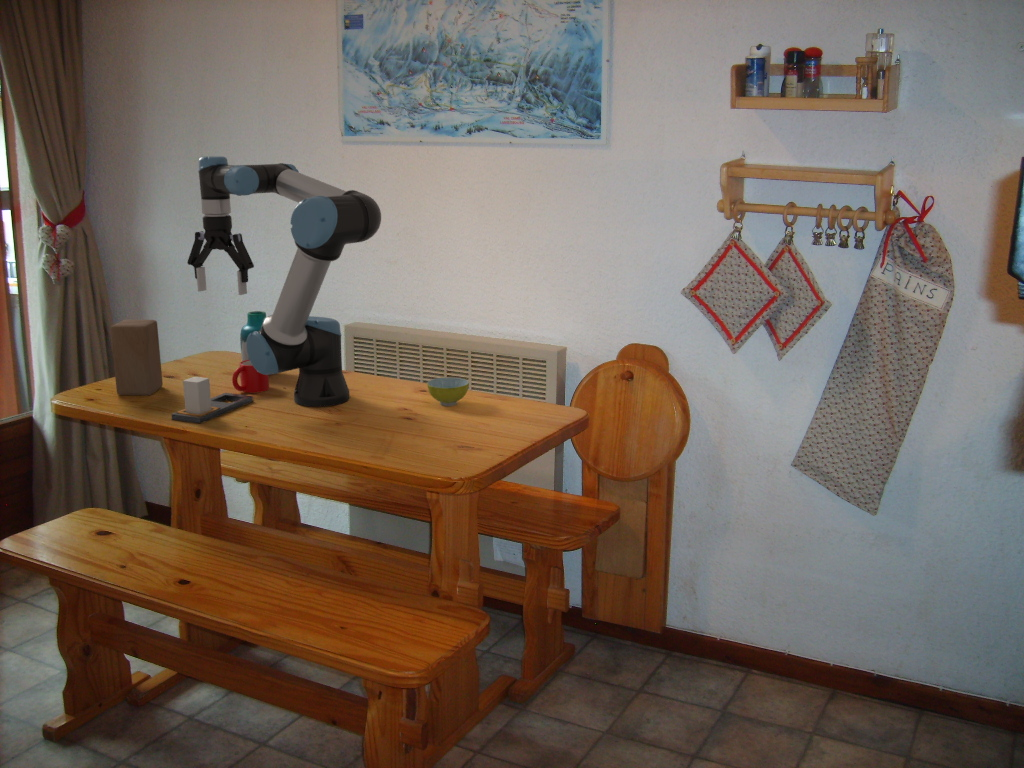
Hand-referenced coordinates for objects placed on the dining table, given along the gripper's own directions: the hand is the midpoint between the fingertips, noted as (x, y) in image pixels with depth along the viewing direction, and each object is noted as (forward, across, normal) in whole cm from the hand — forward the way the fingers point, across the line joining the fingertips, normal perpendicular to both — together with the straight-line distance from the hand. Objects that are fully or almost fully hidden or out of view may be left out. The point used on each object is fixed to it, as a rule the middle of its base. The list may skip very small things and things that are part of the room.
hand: (222, 292), depth 269 cm
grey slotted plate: (+29, -7, +16) cm, 34 cm away
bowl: (+29, -62, -14) cm, 70 cm away
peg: (+29, -7, +22) cm, 37 cm away
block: (+29, +24, +9) cm, 39 cm away
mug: (+29, -4, -4) cm, 30 cm away
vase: (+29, +4, -20) cm, 35 cm away
